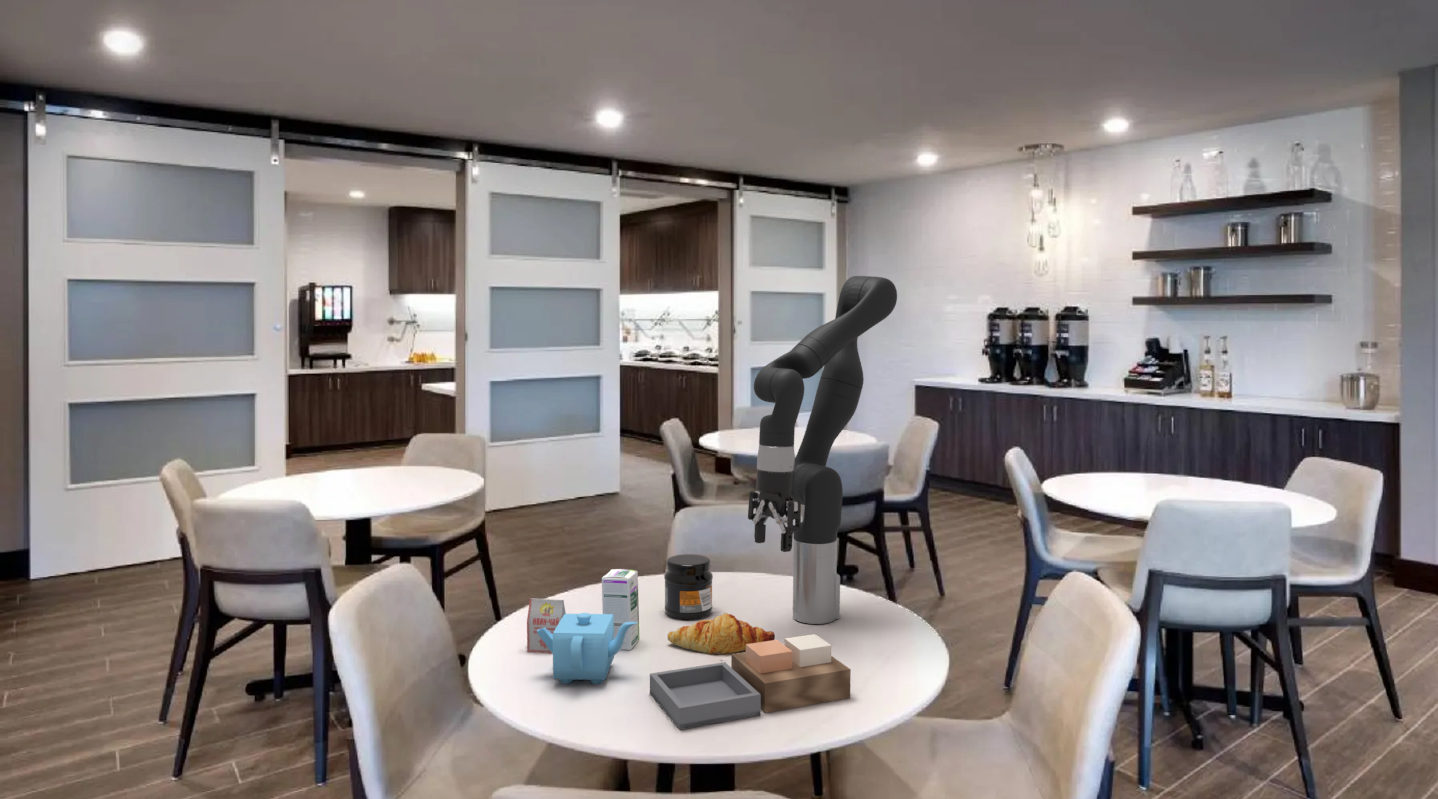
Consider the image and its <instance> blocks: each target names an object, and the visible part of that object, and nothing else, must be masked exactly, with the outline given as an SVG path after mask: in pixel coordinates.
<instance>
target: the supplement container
mask: <svg viewBox="0 0 1438 799" xmlns="http://www.w3.org/2000/svg"><path fill="white" fill-rule="evenodd" d="M710 569H711V559H710V558H709V557H707V556H705V555H701V554H694V553H693V554H690V553H686V554H685V553H684V554H677V555H676V554H675V555H672V556H669V557H668V558H666V570H667V571H666V572H665V573H664V576H663V577H664V578H663V579H664V611H665V613H666V614H667V615H668V616H669V617H671V618H672V619H673V618H674V619H677V620H683V621H685V620H687V621H693V620H694V621H695V620H699V619H703V618H706V617H707V616H709V615H710V614H712V611H713V579H714V578H713V573H712V571H711V570H710Z"/></svg>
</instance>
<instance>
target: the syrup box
mask: <svg viewBox="0 0 1438 799" xmlns="http://www.w3.org/2000/svg"><path fill="white" fill-rule="evenodd" d="M638 573H639V572H638V570H634V569H627V568H615V569H612V568H611V569H610V571H608V572H607V573H605V574H604V575H603V576H602V577H601V592H602V593H601V597H602V599H601V600H602V614H613V615H614V639H615V638H616V636H617V634H618V631H619V628H620V627H621V625H622V624H623V623H625V622H637V623H636V624H634V625H632V626H631V627H630V628H629V629H628V630H627V631H626V634H625V636H624V640H623V643H622V646H621V648H620V650H621V651H631V650H632V649H633V647H635V646H636V644H637V643H638V642H639V641H640V617H639V616H640V614H639V613H640V612H639V611H640V610H639V608H640V606H639V574H638ZM620 650H619V651H620Z"/></svg>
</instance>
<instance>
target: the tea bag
mask: <svg viewBox="0 0 1438 799" xmlns="http://www.w3.org/2000/svg"><path fill="white" fill-rule="evenodd" d="M564 601H565V600H564V599H552V598H551V599H550V598H532V597H530V598H529V601H528V602H529V603H528V612H527V618H526V634H527V635H526V645H527V650H526V651H527V652H529V653H540V654H541V653H542V654H543V653H544V654H552V652H551V651H550V650H549V648H548V647H547V645H546V644H545V643H544V641H543V640H542V639H541V637H540V636H539V635H538V633H537V630H538V629H541V628H545V627H546V629H547V630H548V631H550V632H551V633H552V634H553V632H554V631H555V629H556V627H557V626H558V624H559V622H560V621H561V619H562V618H563V616H564V614H567V612H566V607H565V602H564Z"/></svg>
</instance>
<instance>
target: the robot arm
mask: <svg viewBox="0 0 1438 799" xmlns="http://www.w3.org/2000/svg"><path fill="white" fill-rule="evenodd" d="M897 302H898V291H897V288H896V285H895V284H894V282H893V281H892V280H890V279H889V278H886V277H881V276H870V275H869V276H868V275H867V276H866V275H854V276H850V277H849V278H848V279H846V281H845V282H844V284H843V286H842V288H841V289H840V292H839V296H838V301H837V306H836V312H835V316H834V317H835V318H834V319H832V320H831V321H828V322H826V323H824V324H822V325H819V326H818V327H816V328H815V329H813V330H812V331H810V332H809V333H807V335H805V336H804V337H803V338H802V339H801V340H800V341H799V342H798V343H797V344H796V345H795V346H793V347H792V349H790V350H789V351H787V352H786V353H784V354H782V355H781V356H778V357H777V358H775V359H773V361H771V362H769V363H768V364H766V365H765V366H764V367H762V368H761V369H760V370H759V372H758V373H757V375H756V377H755V378H754V381H753V391H754V394H755V395H756V396H757V398H758V399H760V400H761V401H763V402H766V403H772V404H774V406H773V409H772V413H771V414H768V415H764V416H763V417H762V418H761V419H760V423H759V438H758V451H757V455H756V456H757V459H756V482H755V483H756V486H755V488H756V490H754V491H750V492H749V496H748V509H747V510H748V511H747V519H748V520H751V521H752V523H753V525H754V534H753V535H754V536H753V537H754V542H755V543H756V544H763V543H765V542H766V535H767V534H766V530H767V528H766V527H767V525H766V522H767V520H768V518H771V519H774V520H775V523H776V524H777V525H779V527H780V528H779V529H780V532H781V534H780V551H781V552H783V553H786V552H787V553H788V552H791V551H792V550H793V552H792V554H793V555H792V557H793V558H792V559H793V562H792V566H793V568H792V618H793V619H794V620H795V621H797V622H800V623H804V624H811V625H823V624H828V623H832V622H834V621H836V620H839V619H840V614H841V606H840V605H841V600H840V599H841V576H840V574H838V572H837V559H838V558H837V555H838V553H837V551H838V550H837V547H838V546H837V545H838V544H837V543H838V542H837V540H838V532H839V529H840V527H841V522H842V510H843V493H844V490H843V482H842V479H841V476H840V474H839V473H838V472H837V470H835V469H834V468H831V467H829V466H827V462H828V459H829V456H830V453H831V449H832V447H833V445H834V442H835V441H836V439H837V438H838V436H839V435H840V434H841V432H842V431H843V430H844V429H845V428H846V426H847V425H848V423H849V422H850V421H851V419H852V417H853V416H854V415H855V413H856V410H857V408H858V404H859V402H860V401H859V400H860V397H861V394H862V390H863V387H864V371H863V367H862V362H861V358H860V354H859V350H858V339H859V337H860V336H862V335H863V334H865V333H866V332H868V331H869V330H870V329H871V328H873V327H874V326H876V325H878V324H879V323H881V322H882V321H883V320H885V319H886V318H888V317H889V316H890V315H891V314H892V312H893V311H894V310H895V308H896V305H897ZM821 369H822V371H821V375H820V379H819V381H818V386H817V389H816V393H815V397H814V401H813V405H812V408H811V411H810V414H809V418H808V422H807V425H806V428H805V431H804V435H803V437H802V441H801V443H800V446H799V448H798V451H797V453H796V454H795V433H796V432H795V431H796V430H795V428H796V424H797V420H798V417H799V414H800V410H801V406H802V404H803V400H804V395H805V383H804V379H809V378H812V377H813V376H815V375H816V374H818V372H819V371H820V370H821ZM791 499H792V500H791ZM802 505H803V506H804V510H803V511H804V512H803V520H802V512H801V511H802ZM754 510H755V512H754ZM792 548H793V549H792Z"/></svg>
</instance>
